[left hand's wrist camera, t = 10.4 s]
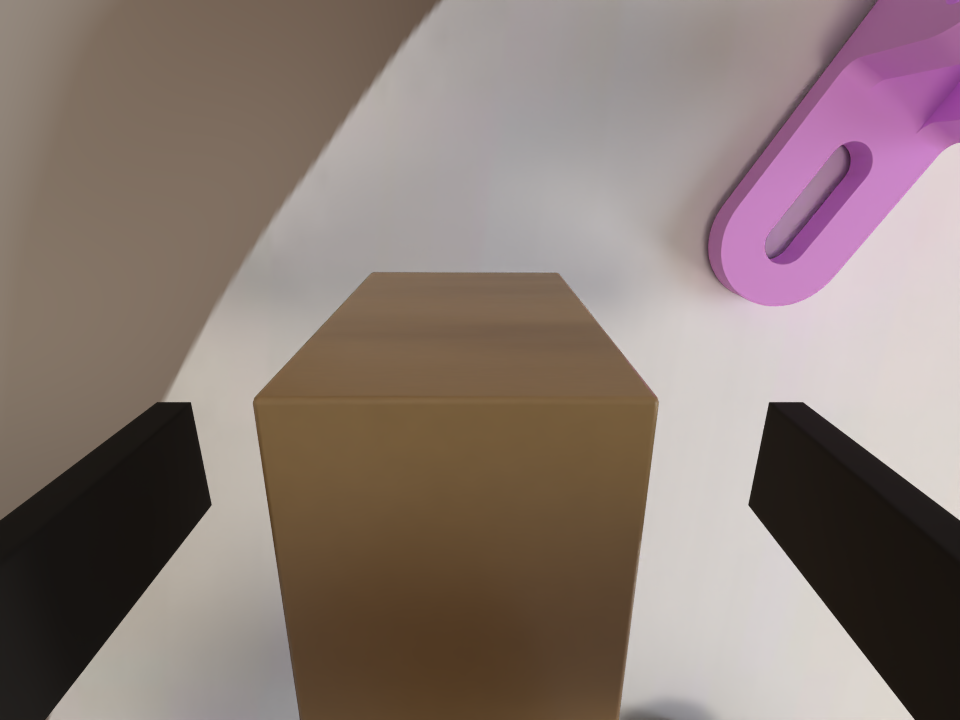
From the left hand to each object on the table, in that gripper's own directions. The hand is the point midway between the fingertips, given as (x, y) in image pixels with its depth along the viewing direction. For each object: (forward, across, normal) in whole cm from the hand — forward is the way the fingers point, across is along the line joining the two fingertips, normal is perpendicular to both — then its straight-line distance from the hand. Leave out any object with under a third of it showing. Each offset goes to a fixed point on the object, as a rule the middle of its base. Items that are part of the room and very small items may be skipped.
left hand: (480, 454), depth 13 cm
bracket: (+14, +15, +6) cm, 22 cm away
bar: (+3, 0, -9) cm, 9 cm away
